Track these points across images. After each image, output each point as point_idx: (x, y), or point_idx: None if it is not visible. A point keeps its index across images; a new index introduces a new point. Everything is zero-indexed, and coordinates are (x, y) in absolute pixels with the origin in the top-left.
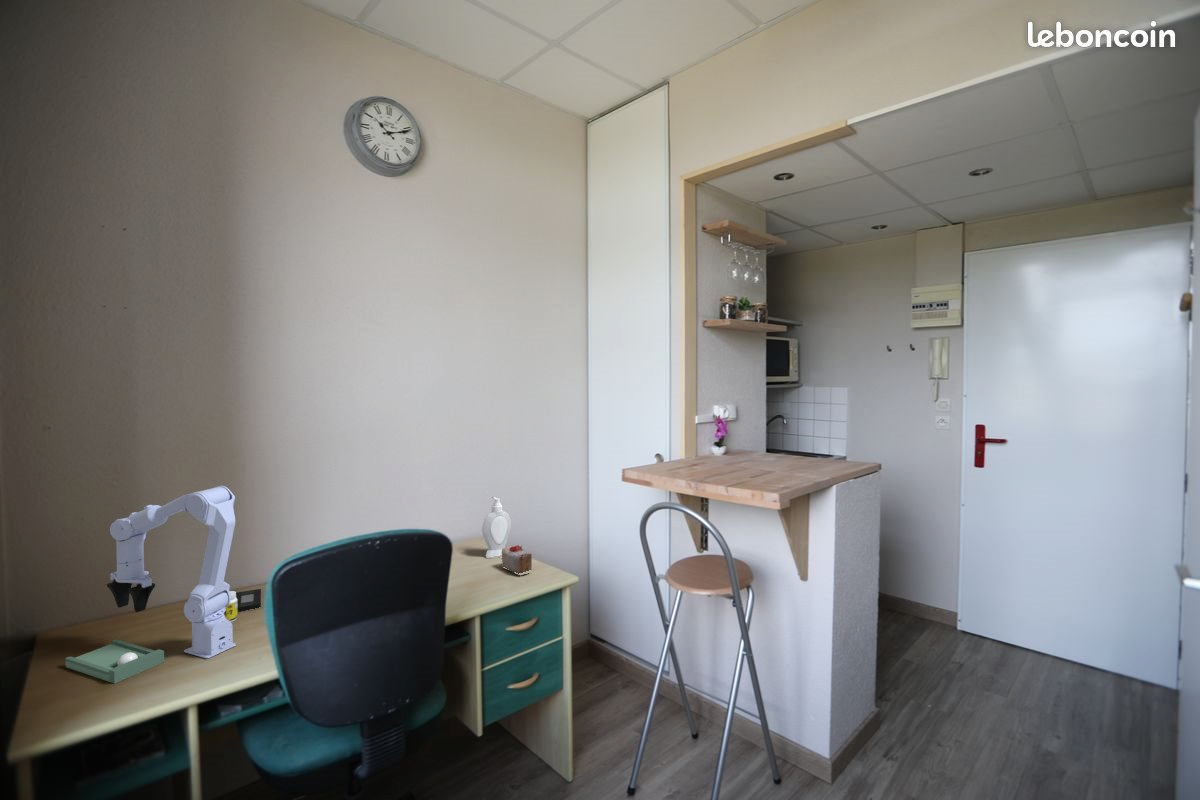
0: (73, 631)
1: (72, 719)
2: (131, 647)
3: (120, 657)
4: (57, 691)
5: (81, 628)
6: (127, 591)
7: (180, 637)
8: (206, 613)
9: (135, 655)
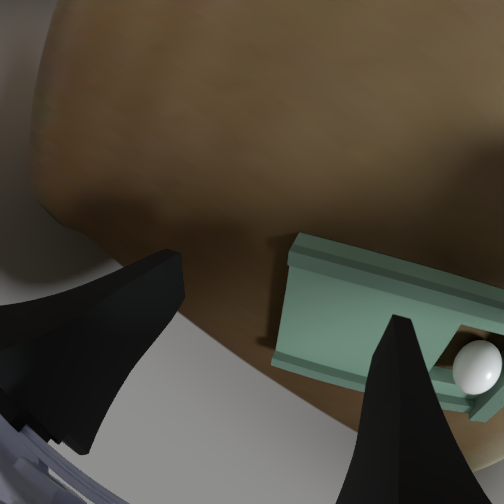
0: (65, 168)
1: (476, 452)
2: (423, 300)
3: (463, 391)
4: None
5: (61, 149)
6: (100, 320)
7: (496, 109)
8: None
9: (499, 374)
